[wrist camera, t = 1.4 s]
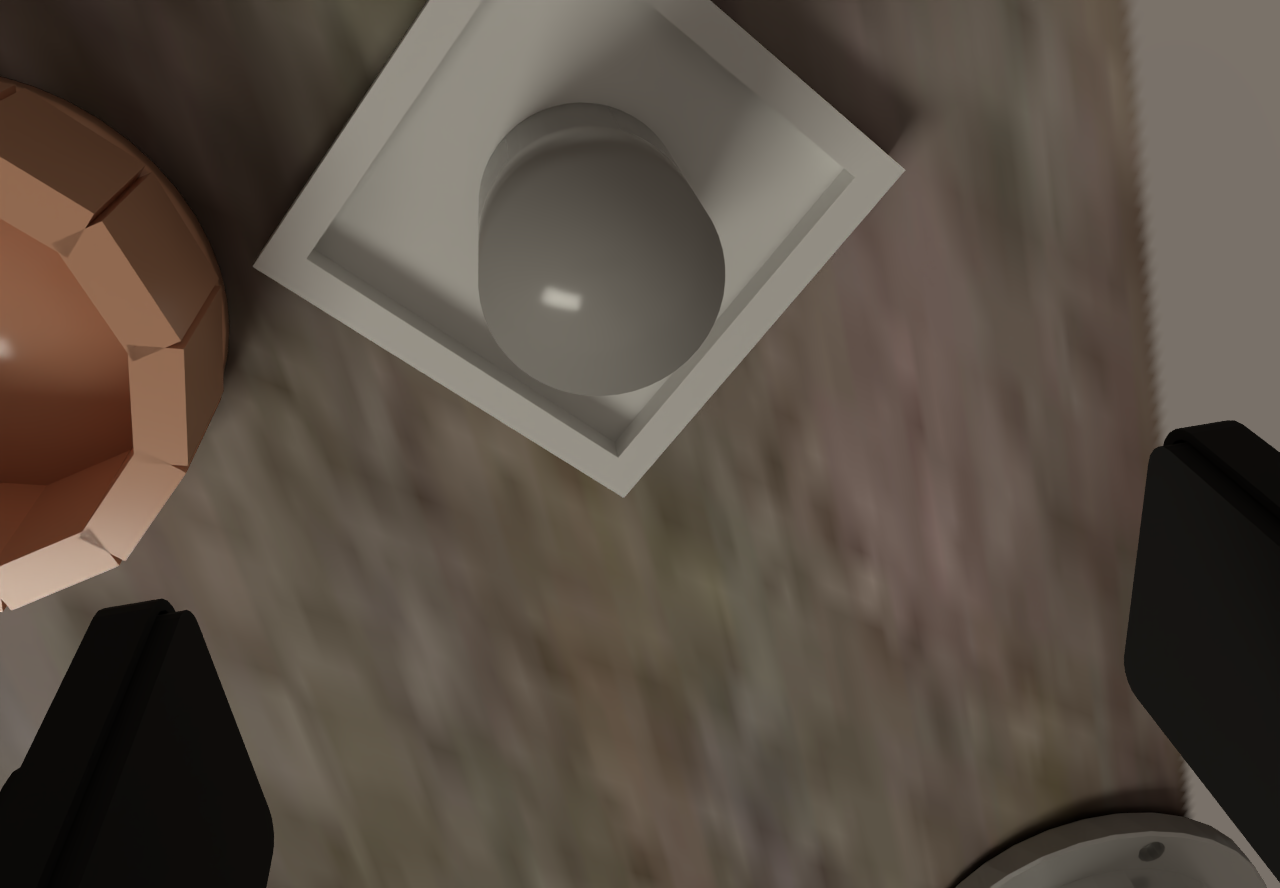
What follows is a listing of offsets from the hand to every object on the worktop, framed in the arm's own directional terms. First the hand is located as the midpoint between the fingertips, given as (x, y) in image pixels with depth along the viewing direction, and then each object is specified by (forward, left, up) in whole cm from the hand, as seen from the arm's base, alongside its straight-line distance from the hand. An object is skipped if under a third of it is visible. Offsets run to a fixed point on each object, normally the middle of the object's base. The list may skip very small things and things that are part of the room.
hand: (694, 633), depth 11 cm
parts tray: (0, 0, -16) cm, 16 cm away
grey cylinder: (0, 0, -16) cm, 16 cm away
